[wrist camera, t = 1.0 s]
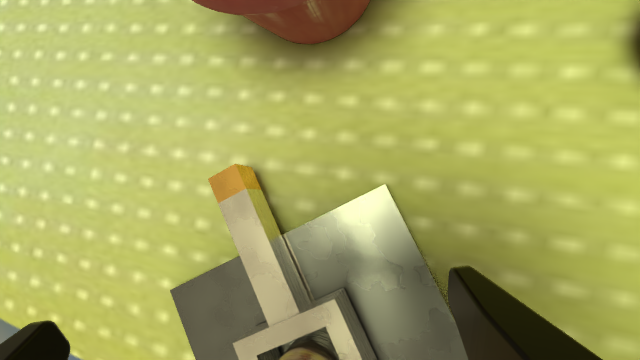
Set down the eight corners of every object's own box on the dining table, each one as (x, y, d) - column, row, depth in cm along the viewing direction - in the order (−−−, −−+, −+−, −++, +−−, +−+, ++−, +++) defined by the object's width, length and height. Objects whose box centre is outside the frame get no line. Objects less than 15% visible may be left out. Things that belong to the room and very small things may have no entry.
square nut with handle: (394, 397, 22) (391, 424, 19) (294, 432, 23) (279, 462, 20) (281, 151, 25) (264, 144, 22) (199, 196, 26) (174, 195, 23)
